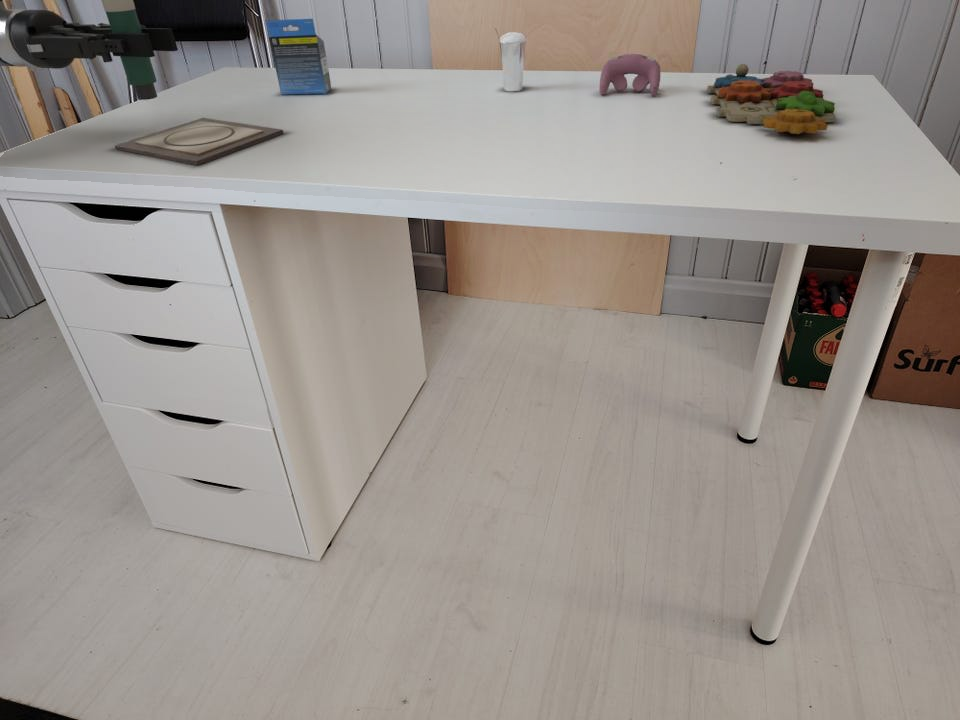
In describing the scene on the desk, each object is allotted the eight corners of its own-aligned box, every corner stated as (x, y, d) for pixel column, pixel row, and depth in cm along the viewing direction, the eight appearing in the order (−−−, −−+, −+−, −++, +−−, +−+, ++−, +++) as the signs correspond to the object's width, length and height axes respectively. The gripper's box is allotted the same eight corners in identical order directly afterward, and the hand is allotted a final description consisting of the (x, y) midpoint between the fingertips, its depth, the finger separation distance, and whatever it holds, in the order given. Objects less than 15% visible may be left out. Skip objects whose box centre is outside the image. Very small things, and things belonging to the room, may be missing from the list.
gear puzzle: (856, 143, 83) (866, 110, 80) (724, 141, 86) (730, 109, 83) (805, 87, 108) (811, 60, 105) (704, 87, 110) (708, 61, 108)
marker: (128, 99, 91) (93, -7, 83) (150, 93, 94) (118, -10, 86) (144, 101, 89) (110, -6, 82) (167, 96, 92) (136, -9, 84)
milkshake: (492, 88, 116) (491, 26, 110) (520, 85, 117) (520, 23, 112) (500, 94, 112) (499, 30, 107) (529, 90, 114) (529, 27, 108)
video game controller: (657, 101, 110) (663, 58, 109) (658, 94, 105) (663, 49, 104) (599, 100, 112) (604, 57, 111) (597, 93, 108) (602, 48, 107)
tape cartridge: (332, 89, 121) (320, 15, 114) (326, 94, 118) (313, 18, 111) (287, 90, 122) (272, 16, 115) (279, 95, 119) (264, 20, 112)
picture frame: (115, 149, 94) (113, 143, 94) (203, 121, 106) (202, 115, 105) (197, 165, 87) (195, 159, 86) (283, 133, 98) (282, 127, 97)
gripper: (91, 56, 101) (211, 61, 94) (-7, 79, 89) (122, 86, 81) (72, 2, 97) (196, 2, 90) (-34, 18, 85) (100, 20, 77)
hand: (161, 42), depth 86 cm, fingers closed on marker, 3 cm apart
